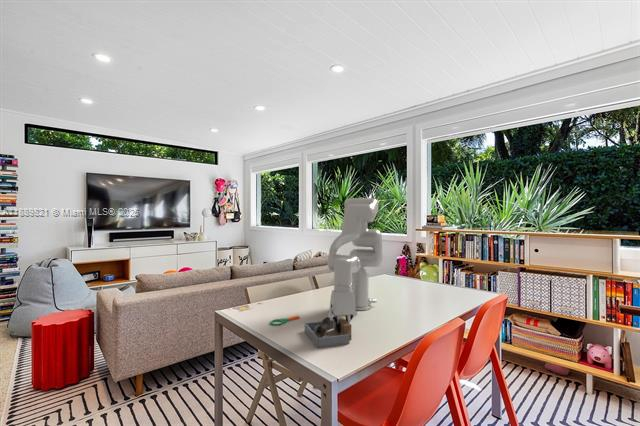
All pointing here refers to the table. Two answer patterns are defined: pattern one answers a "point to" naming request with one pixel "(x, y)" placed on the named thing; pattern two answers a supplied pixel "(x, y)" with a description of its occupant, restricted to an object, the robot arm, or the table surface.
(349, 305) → the robot arm
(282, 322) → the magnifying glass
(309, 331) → the grey bent bar
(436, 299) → the table surface
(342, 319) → the brown rectangular block
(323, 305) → the table surface
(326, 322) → the eagle figurine
